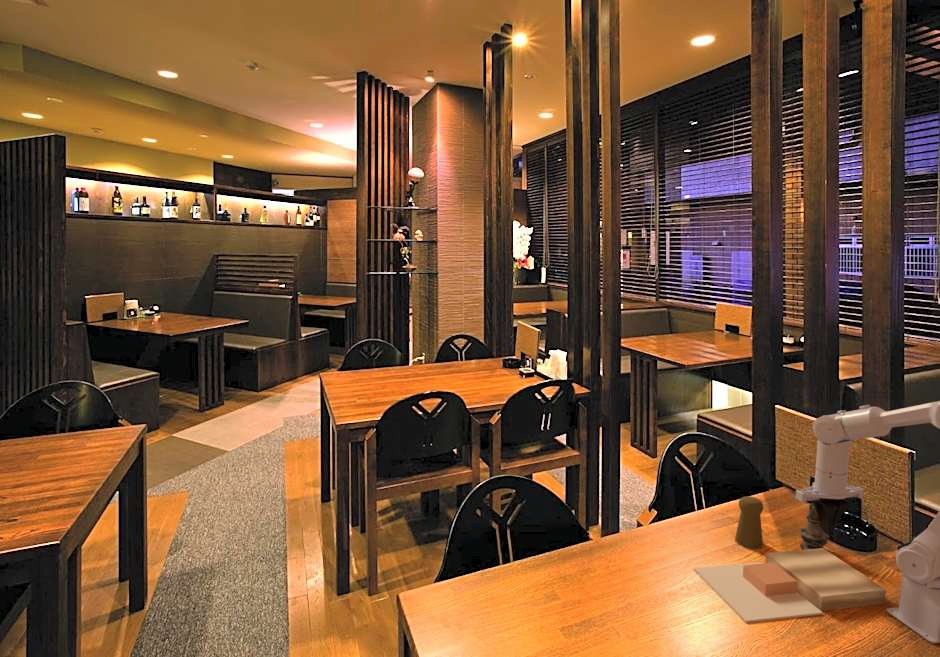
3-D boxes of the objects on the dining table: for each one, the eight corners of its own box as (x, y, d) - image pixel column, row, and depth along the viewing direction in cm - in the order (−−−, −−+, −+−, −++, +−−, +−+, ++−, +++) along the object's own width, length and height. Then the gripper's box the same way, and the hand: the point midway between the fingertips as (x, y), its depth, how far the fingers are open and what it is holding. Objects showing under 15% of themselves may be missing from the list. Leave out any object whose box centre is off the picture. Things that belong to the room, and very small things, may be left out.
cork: (729, 539, 134) (731, 496, 133) (746, 534, 137) (748, 491, 135) (751, 551, 129) (753, 506, 127) (768, 545, 131) (771, 501, 130)
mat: (822, 614, 106) (822, 612, 106) (745, 622, 103) (745, 620, 103) (760, 563, 123) (760, 562, 123) (693, 569, 121) (693, 568, 121)
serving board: (884, 603, 109) (886, 589, 108) (820, 610, 107) (821, 596, 106) (822, 560, 124) (822, 548, 124) (765, 565, 122) (766, 553, 122)
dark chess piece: (832, 556, 126) (836, 506, 125) (804, 553, 127) (807, 504, 126) (821, 543, 132) (825, 495, 130) (794, 541, 133) (798, 493, 131)
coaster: (796, 592, 112) (797, 581, 111) (765, 596, 111) (765, 584, 110) (772, 573, 119) (773, 562, 118) (742, 576, 118) (743, 565, 117)
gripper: (846, 461, 122) (842, 519, 124) (787, 465, 120) (783, 524, 122) (874, 473, 115) (868, 534, 117) (811, 477, 113) (807, 540, 115)
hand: (826, 530), depth 119 cm, fingers closed
